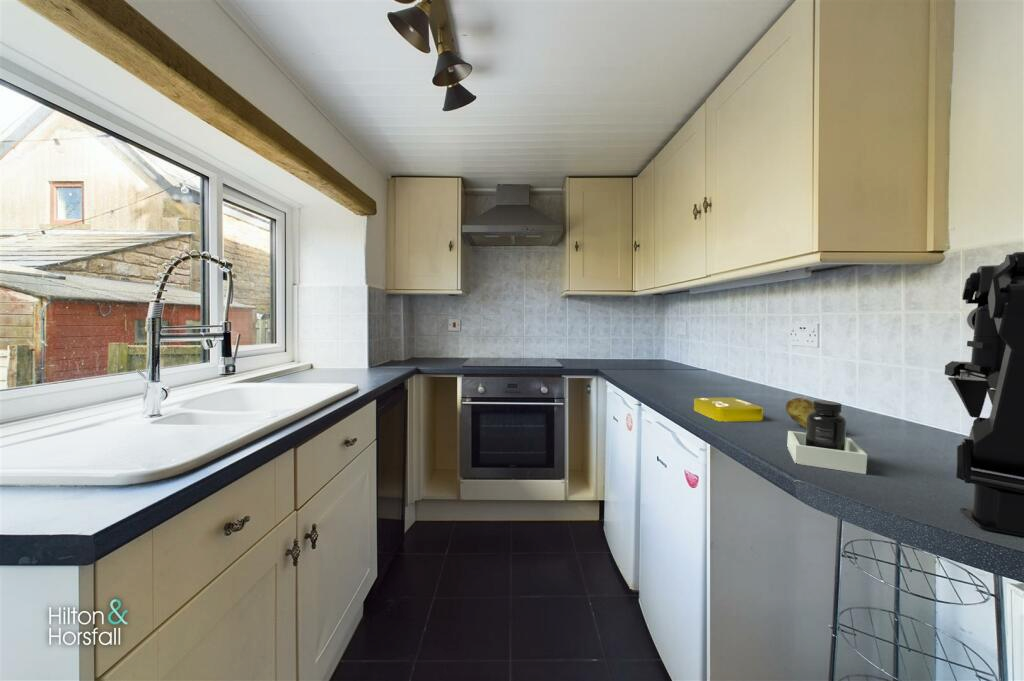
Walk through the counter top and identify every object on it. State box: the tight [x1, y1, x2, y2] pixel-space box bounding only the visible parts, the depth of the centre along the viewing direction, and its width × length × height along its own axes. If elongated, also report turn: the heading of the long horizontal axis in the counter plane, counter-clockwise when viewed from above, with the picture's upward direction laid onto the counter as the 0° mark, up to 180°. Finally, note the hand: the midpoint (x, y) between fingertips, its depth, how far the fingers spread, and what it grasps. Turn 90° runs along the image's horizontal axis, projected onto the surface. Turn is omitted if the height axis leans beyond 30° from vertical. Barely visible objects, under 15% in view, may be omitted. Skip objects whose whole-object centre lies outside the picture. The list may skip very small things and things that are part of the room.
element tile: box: [693, 396, 764, 423], centre depth 125 cm, size 15×15×5 cm
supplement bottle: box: [805, 399, 847, 451], centre depth 87 cm, size 7×7×12 cm
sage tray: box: [786, 430, 868, 475], centre depth 88 cm, size 12×12×4 cm
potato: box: [785, 397, 814, 429], centre depth 111 cm, size 8×13×8 cm, turn 8°
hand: (989, 423), depth 71 cm, fingers open, 9 cm apart
